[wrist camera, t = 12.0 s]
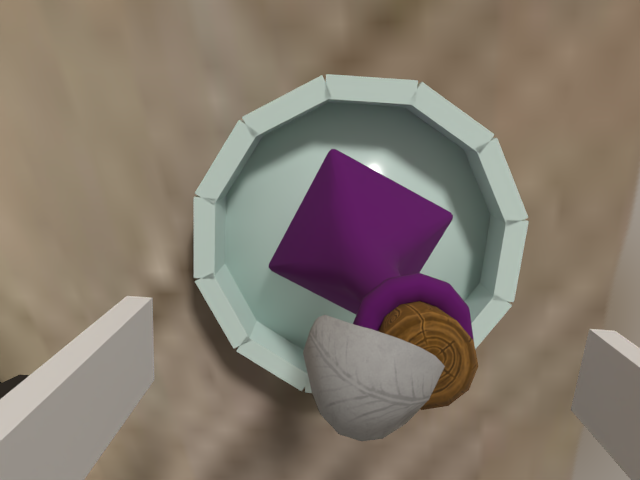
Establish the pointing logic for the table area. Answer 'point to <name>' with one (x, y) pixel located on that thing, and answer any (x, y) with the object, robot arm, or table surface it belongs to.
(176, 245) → the table surface
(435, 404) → the perfume bottle
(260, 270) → the round tray
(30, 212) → the table surface
